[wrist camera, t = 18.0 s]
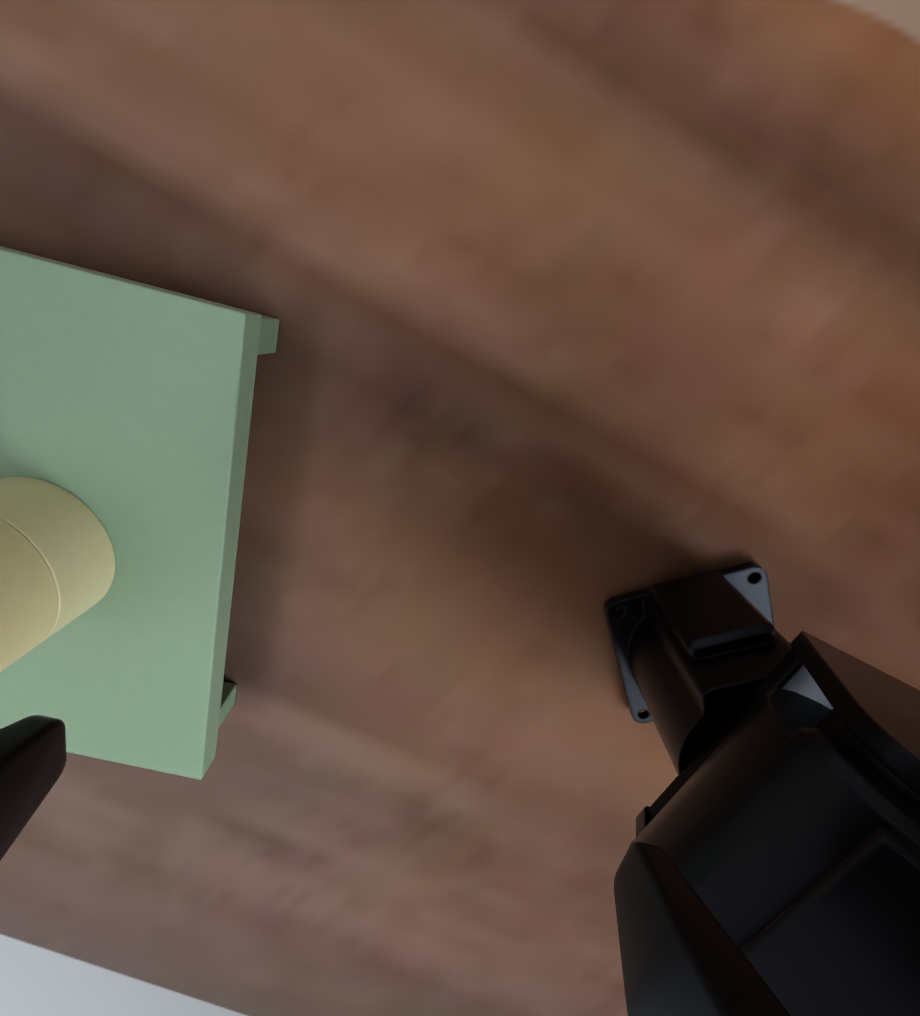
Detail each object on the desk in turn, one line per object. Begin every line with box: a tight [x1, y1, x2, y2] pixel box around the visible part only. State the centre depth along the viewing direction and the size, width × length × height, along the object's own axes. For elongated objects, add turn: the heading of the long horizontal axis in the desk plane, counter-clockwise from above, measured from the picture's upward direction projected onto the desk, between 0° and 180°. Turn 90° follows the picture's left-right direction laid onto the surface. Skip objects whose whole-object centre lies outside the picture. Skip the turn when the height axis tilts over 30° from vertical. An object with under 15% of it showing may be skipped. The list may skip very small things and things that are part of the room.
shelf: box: [0, 246, 279, 780], centre depth 16 cm, size 13×18×9 cm
